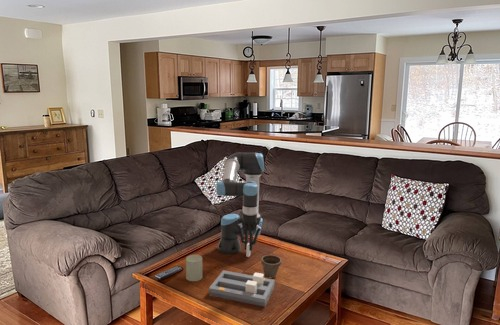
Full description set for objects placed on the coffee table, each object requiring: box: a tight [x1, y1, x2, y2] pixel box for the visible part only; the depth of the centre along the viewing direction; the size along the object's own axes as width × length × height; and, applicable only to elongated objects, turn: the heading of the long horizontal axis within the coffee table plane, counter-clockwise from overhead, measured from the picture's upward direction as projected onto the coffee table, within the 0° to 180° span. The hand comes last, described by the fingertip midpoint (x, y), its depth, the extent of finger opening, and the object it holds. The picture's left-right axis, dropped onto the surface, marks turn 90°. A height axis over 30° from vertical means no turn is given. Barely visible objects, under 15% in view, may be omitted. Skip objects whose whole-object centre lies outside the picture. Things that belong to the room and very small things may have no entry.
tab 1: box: [245, 280, 257, 294], centre depth 190 cm, size 4×5×6 cm
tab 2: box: [252, 272, 265, 286], centre depth 198 cm, size 4×5×6 cm
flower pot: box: [260, 254, 282, 279], centre depth 213 cm, size 12×11×10 cm
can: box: [185, 254, 203, 282], centre depth 208 cm, size 9×9×12 cm
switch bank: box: [208, 269, 276, 308], centre depth 197 cm, size 20×30×4 cm, turn 73°
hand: (248, 255), depth 197 cm, fingers closed
